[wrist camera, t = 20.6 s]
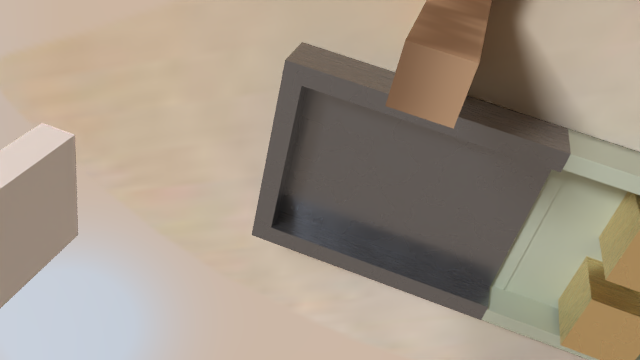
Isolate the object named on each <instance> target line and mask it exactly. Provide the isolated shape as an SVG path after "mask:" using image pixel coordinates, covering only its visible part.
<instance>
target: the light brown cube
mask: <svg viewBox="0 0 640 360" xmlns="http://www.w3.org/2000/svg"><path fill="white" fill-rule="evenodd" d="M599 242H600V248H601V254H602V261H603V267H604V274H605V280H606V281H609V282H612V283H615V284H618V285H621V286H623V287H626V288H629V289H632V290H635V291H638V292H640V195H638V194H635V193H632V192H629V191H628V192H627V194H626V195H625V197H624V198H623V200H622V201H621V203H620V205H619V206H618V208H617V209H616V211H615V213H614V214H613V216H612V217H611V219H610V220H609V222H608V224H607V225H606V227H605V228H604V230H603V232H602V233H601V235H600V236H599Z"/></svg>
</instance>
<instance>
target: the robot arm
mask: <svg viewBox="0 0 640 360" xmlns="http://www.w3.org/2000/svg"><path fill="white" fill-rule="evenodd" d="M77 218H78V217H77V186H76V152H75V135H74V134H71V133H69V132H66V131H63V130H61V129H58V128H55V127H52V126H50V125H47V124H44V123H41V124H39V125H38V126H36V127H35V128H33V129H32V130H30V131H29V132H27V133H26V134H24V135H23V136H21V137H20V138H18V139H17V140H15V141H13V142H12V143H10V144H9V145H7V146H6V147H4V148H3V149H1V150H0V308H1V307H2V306H3V305H4V304H5V303H7V302H8V301H9V300H10V299H11V298H12V297H13V296H14V295H15V294H16V293H17V292H18V291H19V290H20V289H21V288H22V287H23V286H24V285H26V284H27V282H29V281H30V280H31V279H32V278H33V277H34V276H35V275H36V274H37V273H38V272H39V271H40V270H41V269H42V268H44V267H45V266H46V265H47V264H48V263H49V262H50V261H51V260H52V259H53V258H54V257H55V256H56V255H57V254H58V253H59V252H60V251H61V250H62V249H63V248H65V247H66V246H67V245H68V244H69V243H70V242H71V241H72V240H73V239H74V238H75V237H76V236H77V235H78V219H77Z"/></svg>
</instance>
